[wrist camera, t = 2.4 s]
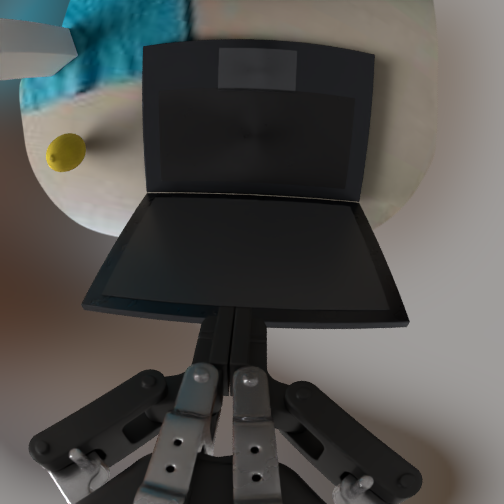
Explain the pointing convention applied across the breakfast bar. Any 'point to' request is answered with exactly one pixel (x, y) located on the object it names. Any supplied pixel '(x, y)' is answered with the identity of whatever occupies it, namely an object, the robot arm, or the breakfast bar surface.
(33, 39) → the milk
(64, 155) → the lemon
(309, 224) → the laptop screen
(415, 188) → the breakfast bar surface
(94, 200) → the breakfast bar surface
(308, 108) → the laptop
